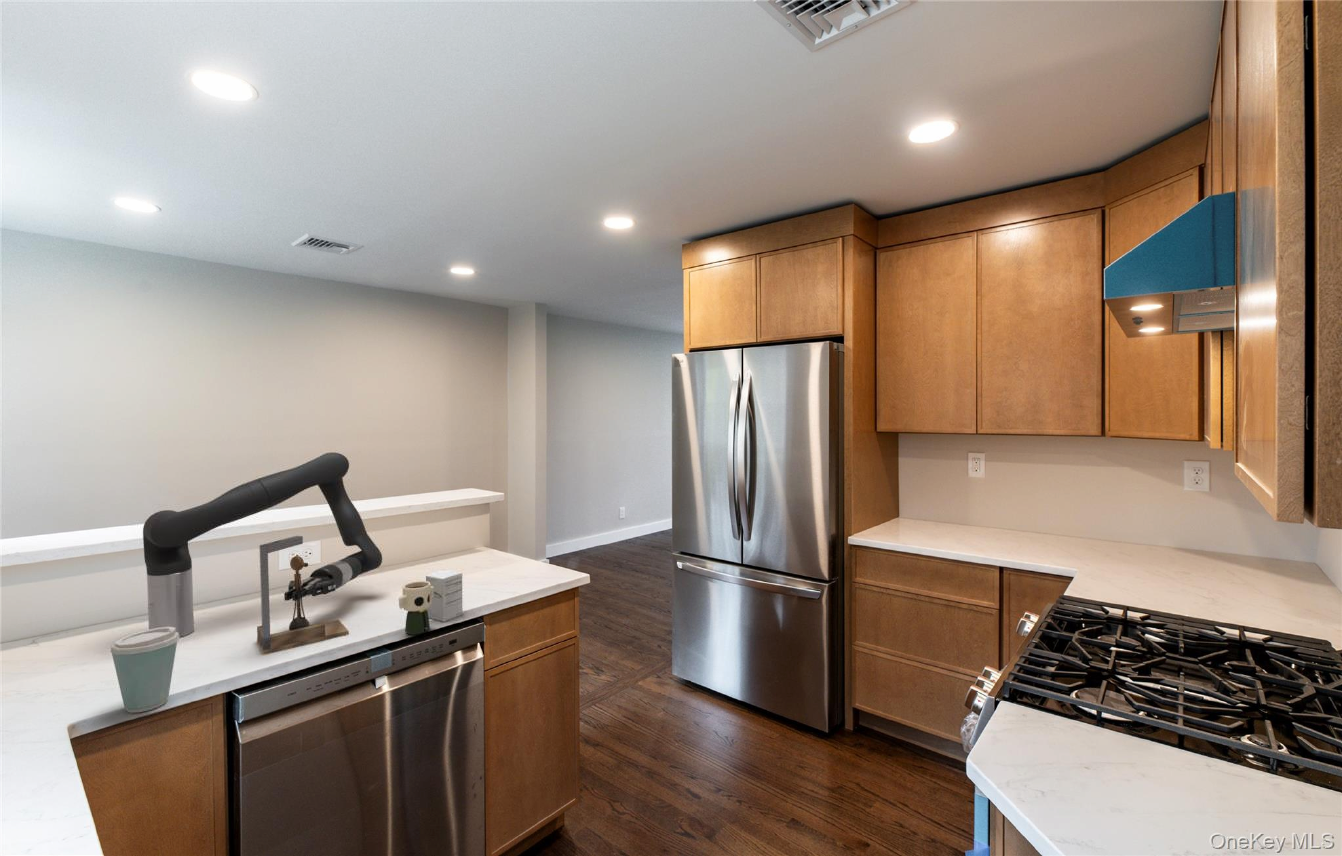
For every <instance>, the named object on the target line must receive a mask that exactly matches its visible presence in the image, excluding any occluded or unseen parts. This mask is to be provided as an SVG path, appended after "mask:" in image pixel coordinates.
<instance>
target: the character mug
mask: <svg viewBox="0 0 1342 856" xmlns="http://www.w3.org/2000/svg"><path fill="white" fill-rule="evenodd" d="M433 597H434V587H433V586H431V584H430V582H427V581H426V580H417V581H410V582H407V583H405V584H403V585H402V595H401V596H399V598H398V606H399V609H401V610H404V611H407V612H406V617H405V629H404V632H406V633H407V634H410V635H419V634H423V633H424V632H425V629H426V632H429V630H431V629H430V628H431V625H430V618H429V617H428V612H427V608H429V606H430V605H431V601H432V599H431V598H433Z"/></svg>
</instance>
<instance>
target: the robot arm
mask: <svg viewBox="0 0 1342 856" xmlns="http://www.w3.org/2000/svg"><path fill="white" fill-rule="evenodd" d="M349 469H350V461H349V459H348V458H347V457H346V456H345V455H344V454H342V453H339V452H335V451H334V452H333V451H332V452H326V453H324V454H322V455H319V456H317V457H316V458H313V459H311V460H309V461H307V462H305V463H303V464H300V465H298V466H295V467H292V468H289V469H285V470H282V471H278V472H275V473H272V474H269V475H266V476H262V477H259V478H256V479H253V480H251V481H248V482H244V483H242V484H240V485H237V486H235V487H233V488H231V489H229V490H227V491H226V492H224V493H222V494H221V495H220V496H219V495H218V497H216V498H214V499H212V500H210V501H208V502H205V503H204V504H203V503H202V504H201V505H198V506H197V505H196V506H195V507H190V508H188V509H184V510H181V511H177V510H169V509H167V510H159V511H156V512H155V513H153V514H151V515H150V516H149V517H148V518H147V519H146V520H145V521H144V523H143V524H144V525H143V529H142V538H143V539H142V541H143V543H142V544H143V556H144V563H145V568H146V579H147V580H146V581H147V587H146V588H147V611H148V612H147V613H148V617H147V618H148V630H150V629H155V628H162V627H175V628H176V632H178V633H179V637H180V638H181V637H182V638H183V637H184V636H187V635H190V634H191V633H193V632H194V631H195V618H194V617H195V616H194V614H195V613H194V591H193V588H194V587H193V563H192V562H193V560H192V556H191V554H190V550H189V542H190V541H192V540H193V539H196V538H197V537H200V536H202V535H204V534H206V533H208V532H210V531H212V530H214V529H217V528H219V527H221V526H224V525H227V524H230V523H234V522H236V521H239V520H241V519H245V518H248V517H250V516H252V515H255V514H259V513H261V512H264V511H265V510H269V509H270V508H273V507H276V506H278V505H279V504H281V503H283V502H286V501H287V500H289V499H291V498H293V497H294V496H297V495H298V494H300V493H302V492H303V491H305V490H307V489H310V488H313V487H315V486H318V488H319V489H320V492H321V493H322V495H323V497H324V499H325V500H326V503H327V504H328V506H329V508H330V511H331V513H332V515H333V518H334V521H335V523H336V526H337V529H338V531H339V534H340V537H341V539H342V542H343V544H344V546H346V547H354V546H357V547H358V548H359V549H360V550H359V551H357V552H354V553H351V554H349V555H347V556H346V557H344V558H342V559H339V560H336V561H333V562H331V563H328V564H326V565H324V566H323V565H322V566H321V567H319V568H316V569H315V570H313V572H311V574H310V575H309V577H307V578H305V579H303V580H301V589H299V590H297V591H295V581H294V580H290V581H289V583H288V588H287V589H288V590H287V591H285V593H283V594H284V596H283V597H284V599H283V600H284V601H290V600H292V602H293V601H294V602H295V601H296V602H297V600H299V599H301V598H302V599H303V598H304V597H305V598H308V597H310V596H311V597H317V596H319V595H327V594H329V593H333V592H336V590H337V589H339V588H341V587H343V586H345V585H346V584H347V583H349V582H351V581H353V580H355V579H356V578H357V577H358V576H360V575H363V574H366V573H368V572H371V571H373V570H376V569H378V568H379V567H380V566H381V565H382V563H383V555H382V551H381V550H380V549H379V548H378V546H377V544H375V543H374V541H373V540H372V538H371V537H370V536H369V534H368V533H367V530H366V527H365V524H364V522H363V520H362V519H363V518H362V517H361V515H360V513H359V511H358V510H357V508H356V507H355V505H354V503H353V502H352V501H351V499H350V498H349V495H348V493H347V491H346V488H345V485H344V484H345V483H344V479H343V478H344V477H345V476H346V475H347V473H348V471H349ZM299 587H300V582H299Z"/></svg>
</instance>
